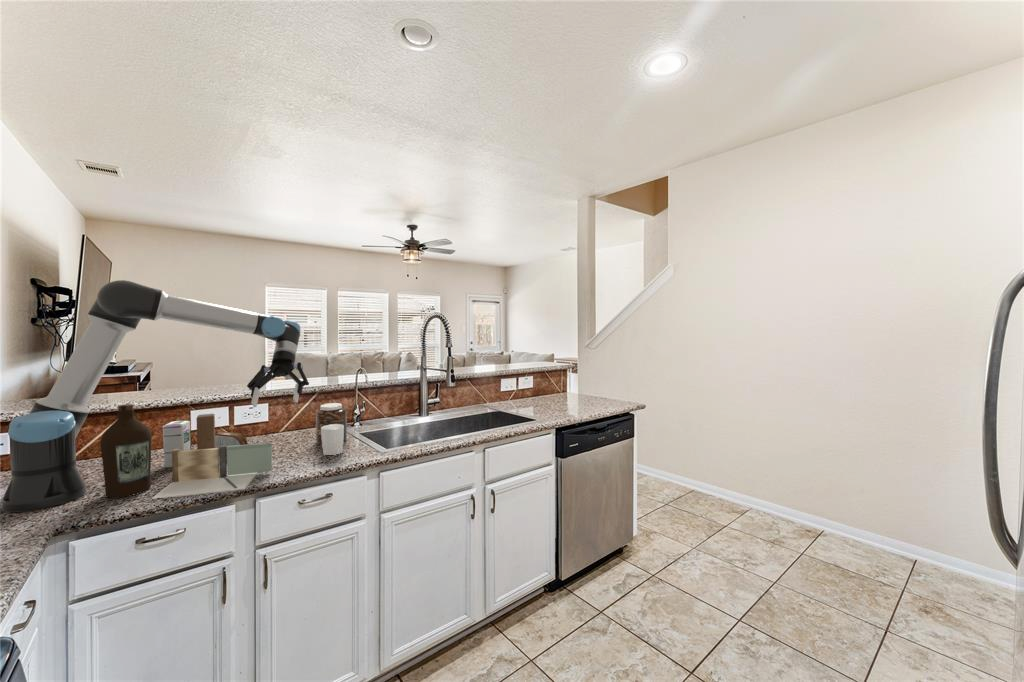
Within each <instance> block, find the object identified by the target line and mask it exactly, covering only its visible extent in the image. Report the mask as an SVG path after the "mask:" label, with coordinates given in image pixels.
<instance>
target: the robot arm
mask: <svg viewBox="0 0 1024 682" xmlns="http://www.w3.org/2000/svg"><path fill="white" fill-rule="evenodd" d="M87 317H88V319H89V321H90V323H89V324H88V326H87V327H86V330H85V331H84V333H83V335H82V337H81V338H80V340H79V342H78V344H76V347H75V348H74V350H73V352H72V353H71V355H70V357H69V359H68V361H67V362H66V364H65V366H64V367H63V369H62V371H61V372H60V374H59V376H58V377H57V380H56V381H55V382H54V384H53V386H52V388H51V389H50V392H49V393H48V395H47V396H45V397H43V398H40V399H37V400H36V402H35V403H34V405H33V406H32V408H31V409H30V411H29V413H26V414H24V415H20V416H17V417H15V418H13V419H12V420H11V421H10V423H9V428H8V430H7V434H8V436H9V452H10V454H9V455H10V470H11V471H10V472H11V473H10V474H11V478H10V481H9V483H8V486H7V488H6V491H5V493H4V495H3V498H2V500H1V507H2V508H1V511H3V512H7V513H8V512H9V513H18V512H19V513H22V512H29V511H35V510H41V509H45V508H50V507H54V506H59V505H61V504H65V503H68V502H71V501H74V500H77V499H78V498H80V497H83V495H84V496H85V494H86V493H87V483H86V481H85V479H84V477H83V475H82V474H81V473H80V470H79V468H78V467H77V455H76V454H77V452H76V448H77V447H76V439H77V437H78V434H79V433H80V431H81V428H82V426H83V425H84V423H85V421H86V419H87V418H88V415H89V413H90V412H91V410H90V408H89V407H88V403H89V401H90V399H91V397H92V395H93V393H94V391H96V390H95V389H97V386H98V385H99V383H100V381H101V380H102V377H103V375H104V374H105V372H106V370H107V368H108V367H109V365H110V363H111V361H112V359H113V357H114V356H115V354H116V352H117V350H118V348H119V347H120V345H121V343H122V341H123V340H124V338H125V336H126V334H127V333H129V332H133V331H135V330H136V328H137V327H138V325H139V323H140V321H141V320H142V319H144V320H151V321H157V320H160V319H163V320H168V321H169V320H170V321H174V322H181V323H188V324H192V325H193V324H194V325H199V326H205V327H210V328H217V329H222V330H229V331H232V332H233V331H234V332H238V333H239V332H241V333H245V334H252V335H255V336H259V337H262V338H264V339H268V340H271V341H273V342H275V348H274V351H273V356H272V360H271V365H270V366H266V365H265V364H262V365H261V367H260V369H259V370H258V372H256V374H255V375H254V376H253V378H252V379H251V380H250V381H249V382H248V383H247V385H246V386H247V388H248V389H249V391H251V392H250V397H251V402H250V403H251V405H252V406H253V408H257V406H258V403H259V398H260V394H261V390H260V389H261V388H263V387H264V386H265V385H267V383H269V382H270V381H272V380H274V379H275V378H281V377H283V378H284V377H287V376H289V378H291V379H292V380H293V381H294V382H295V386H294V392H293V397H292V398H293V399H292V400H293V402H294V404H298V403H299V396H300V395H301V394H303V389H304V386H309V385H310V382H309V380H308V379H307V377H306V375H305V373H304V371H303V370H304V369H303V365H302V363H301V361H300V362H297V363H295V362H296V355H297V350H298V345H299V341H300V337H301V325H300V324H299V323H298V322H297V321H294V320H283V319H282V318H281V317H279V316H275V315H267V314H262V313H257V312H254V311H253V312H252V311H248V310H243V309H239V308H233V307H230V306H229V307H228V306H224V305H220V304H214V303H211V302H210V303H209V302H205V301H200V300H196V299H191V298H190V299H189V298H184V297H179V296H175V295H171V294H167V293H166V292H165V291H164V290H162V289H157V288H153V287H150V286H146V285H143V284H140V283H137V282H133V281H130V280H124V279H123V280H121V279H120V280H119V279H118V280H113V281H109V282H108V283H107V282H106V284H104V285H103V286H102V287H100V288H99V290H98V293H97V296H96V300H95V301H94V303H93V304H92V306H91V308H90V309H89V311H88V313H87ZM294 369H295V370H296V371H298V372H299V374H300V377H301V379H302V380H301V379H299V377H298V376H297V375H296V374H295V373H294V372H293V371H294Z"/></svg>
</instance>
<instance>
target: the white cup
mask: <svg viewBox="0 0 1024 682" xmlns="http://www.w3.org/2000/svg"><path fill="white" fill-rule="evenodd" d="M321 439H322V445H321V447H322V455H323V454H324V455H323V456H325V455H334V456H337V455H336V454H339V455H341V454H342V453H344V442H343V440H344V425H341V424H331V425H326V426H323V427H321ZM340 453H341V454H340Z"/></svg>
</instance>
